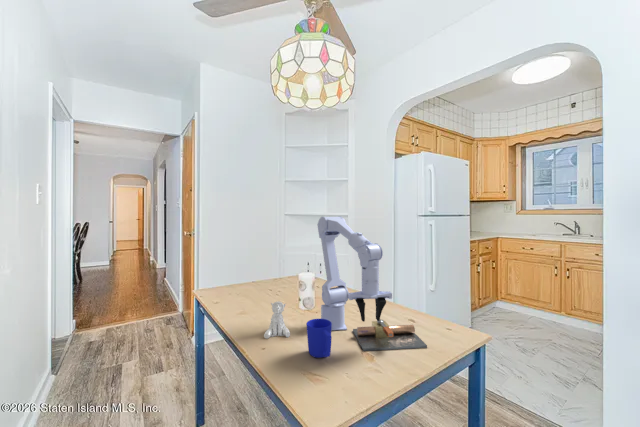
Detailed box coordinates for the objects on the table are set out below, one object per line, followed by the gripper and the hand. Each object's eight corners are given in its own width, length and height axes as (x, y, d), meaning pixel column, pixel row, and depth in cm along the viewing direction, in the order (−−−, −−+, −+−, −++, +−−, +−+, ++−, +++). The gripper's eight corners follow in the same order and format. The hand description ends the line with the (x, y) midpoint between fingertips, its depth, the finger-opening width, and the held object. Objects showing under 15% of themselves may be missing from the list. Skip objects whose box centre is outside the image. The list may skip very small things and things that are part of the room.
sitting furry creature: (263, 339, 104) (263, 306, 104) (264, 329, 113) (264, 299, 113) (290, 337, 106) (290, 304, 106) (288, 328, 114) (288, 297, 114)
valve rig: (363, 351, 95) (363, 336, 95) (352, 331, 111) (352, 318, 111) (427, 347, 97) (427, 333, 97) (407, 328, 113) (407, 316, 113)
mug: (317, 369, 85) (316, 335, 84) (302, 350, 96) (302, 320, 96) (341, 362, 88) (341, 330, 88) (325, 345, 99) (325, 316, 99)
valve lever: (376, 322, 107) (376, 319, 107) (382, 322, 107) (382, 318, 107) (387, 337, 95) (387, 332, 95) (394, 336, 95) (394, 332, 95)
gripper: (351, 283, 92) (351, 325, 93) (395, 282, 94) (395, 323, 94) (347, 278, 99) (347, 317, 100) (388, 277, 101) (388, 315, 101)
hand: (370, 320), depth 97 cm, fingers open, 4 cm apart
